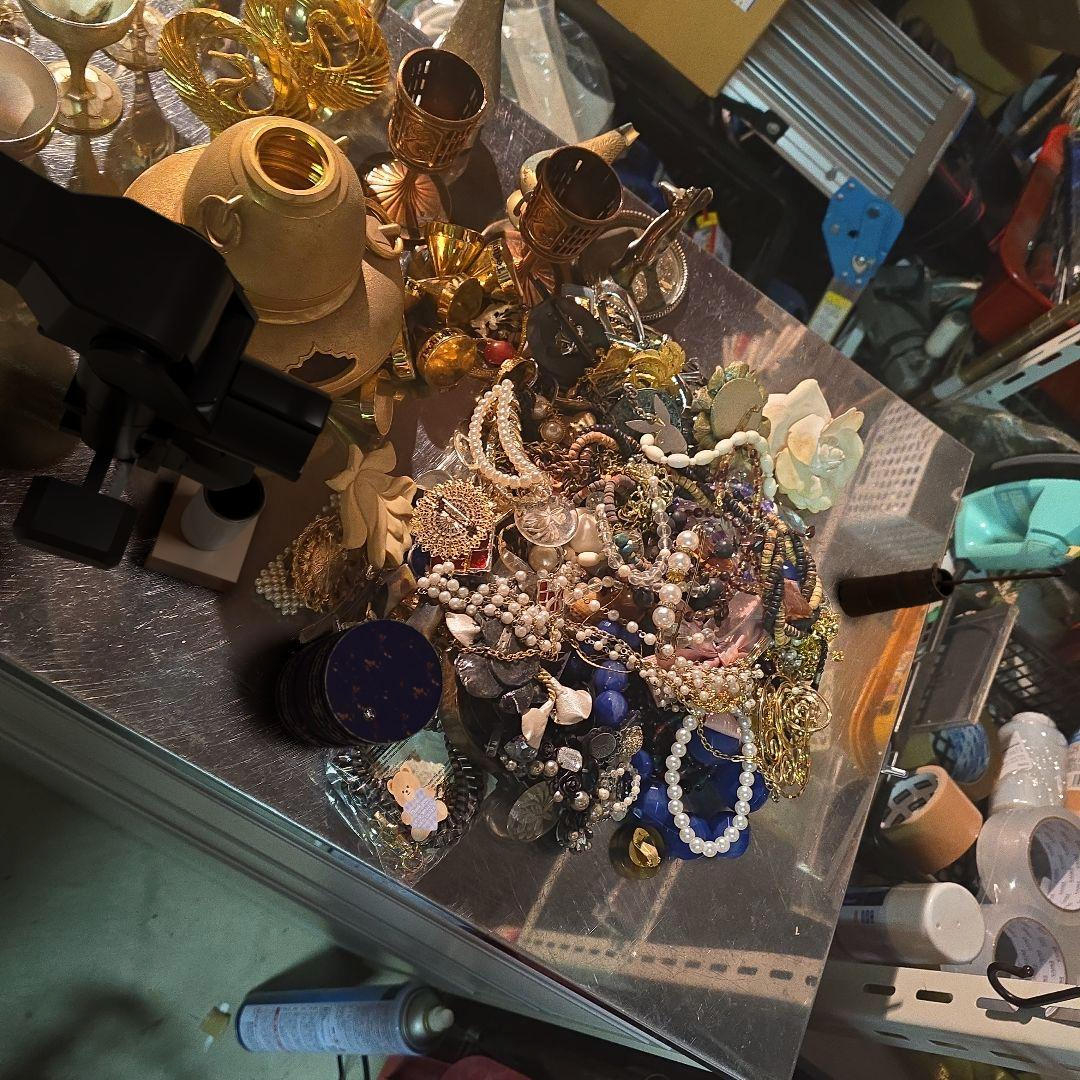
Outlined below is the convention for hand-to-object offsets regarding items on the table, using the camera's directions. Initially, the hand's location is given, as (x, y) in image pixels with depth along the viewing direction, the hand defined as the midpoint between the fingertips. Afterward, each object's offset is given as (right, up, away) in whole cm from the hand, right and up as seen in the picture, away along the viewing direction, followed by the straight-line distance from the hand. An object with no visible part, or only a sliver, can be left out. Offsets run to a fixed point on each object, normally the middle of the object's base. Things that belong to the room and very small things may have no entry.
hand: (106, 457), depth 64 cm
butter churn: (+72, -13, +55) cm, 91 cm away
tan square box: (+1, -6, +15) cm, 16 cm away
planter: (+4, -5, +10) cm, 12 cm away
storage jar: (+12, -20, +17) cm, 29 cm away
